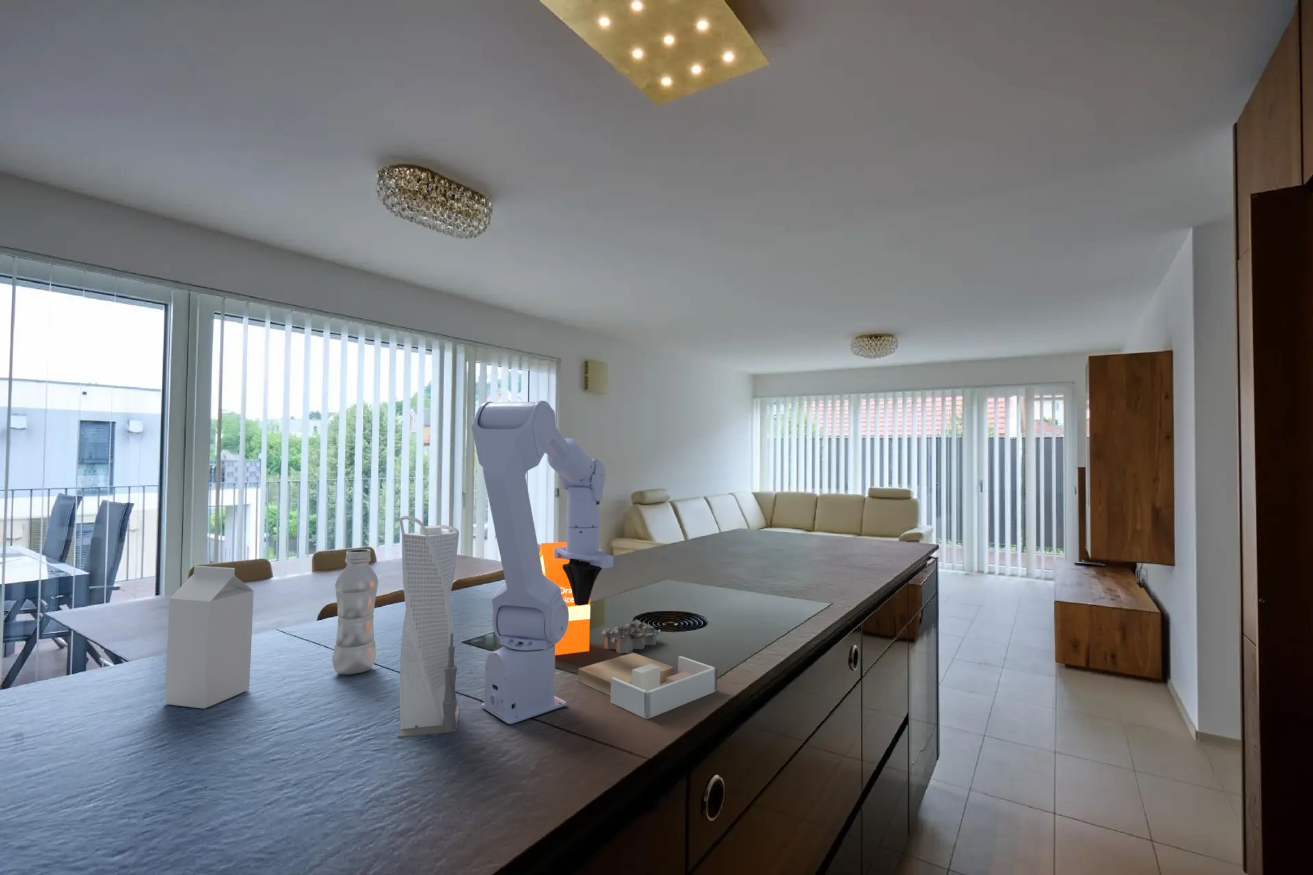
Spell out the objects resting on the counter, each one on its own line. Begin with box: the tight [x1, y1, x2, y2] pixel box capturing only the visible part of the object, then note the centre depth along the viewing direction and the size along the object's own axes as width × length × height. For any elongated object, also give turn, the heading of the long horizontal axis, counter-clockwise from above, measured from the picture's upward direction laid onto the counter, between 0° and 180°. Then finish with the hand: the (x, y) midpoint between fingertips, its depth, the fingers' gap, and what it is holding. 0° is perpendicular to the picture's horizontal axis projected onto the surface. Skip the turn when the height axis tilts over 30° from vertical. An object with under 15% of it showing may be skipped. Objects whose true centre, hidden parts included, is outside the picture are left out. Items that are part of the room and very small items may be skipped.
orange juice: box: [539, 541, 591, 656], centre depth 112 cm, size 8×9×20 cm
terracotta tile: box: [666, 672, 692, 684], centre depth 90 cm, size 4×4×2 cm
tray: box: [610, 655, 718, 720], centre depth 89 cm, size 15×8×4 cm, turn 134°
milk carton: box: [164, 565, 255, 709], centre depth 86 cm, size 7×7×19 cm
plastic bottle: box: [331, 548, 379, 675], centre depth 97 cm, size 6×7×20 cm
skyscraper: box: [397, 515, 460, 738], centre depth 80 cm, size 8×8×28 cm
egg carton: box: [600, 619, 661, 654], centre depth 114 cm, size 11×8×4 cm
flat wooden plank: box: [577, 652, 675, 697], centre depth 95 cm, size 12×10×2 cm
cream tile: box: [632, 664, 660, 691], centre depth 88 cm, size 4×4×2 cm
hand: (581, 604), depth 103 cm, fingers closed
